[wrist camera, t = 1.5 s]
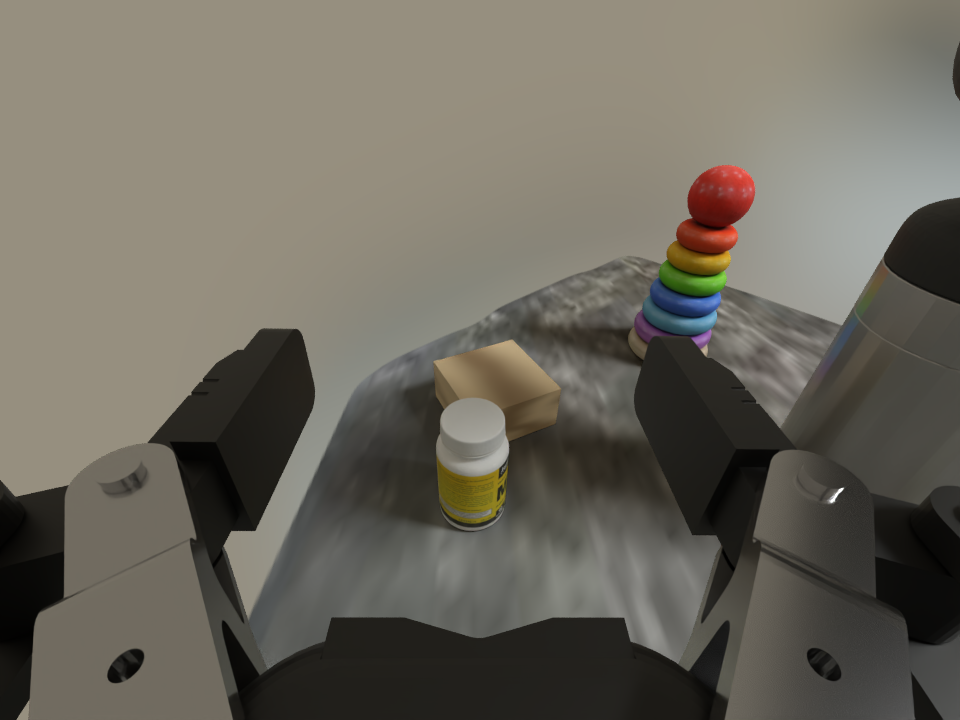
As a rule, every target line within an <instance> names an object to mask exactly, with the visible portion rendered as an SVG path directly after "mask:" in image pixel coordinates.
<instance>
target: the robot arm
mask: <svg viewBox="0 0 960 720" xmlns="http://www.w3.org/2000/svg"><path fill="white" fill-rule="evenodd" d="M953 84H954V89H955V94H956V96H957V97H958V98H959V100H960V43H959V46H958V49H957V52H956V56H955V59H954V68H953ZM314 399H315V387H314V382H313V378H312V373H311V369H310V365H309V360H308V357H307V352H306V348H305V344H304V340H303V336H302V334H301V332H300V331H299V330H298V329H265V328H264V329H261V330H259V332H258V333H257V334H256V335H255V336H254V338H253V339H252V340H251V341H250V343H249V344H248V345H247V346H246V348H245V349H244V350H237V351H235V352H233V353H232V354H231V355H229V356H227V357H226V358H224V359H222V360H221V361H219V362H218V363H216V364H215V365H214V367H213V368H212V369H211V370H210V371H209V372H208V374H207V375H206V376H205V377H204V378H203V382H200V383H199V384H198V385H197V386H196V387H195V388H194V390H193V391H192V395H190V396H188V397H187V398H186V399H185V400H184V401H183V402H182V404H181V405H180V406H179V407H178V408H177V409H176V411H175V412H174V413H173V414H172V415H171V416H170V417H169V418H168V420H167V421H166V422H165V423H164V424H163V425H162V427H161V428H160V429H159V430H158V431H157V432H156V434H155V435H154V436H153V437H152V438H151V439H150V440H149V442H148V443H144V444H137V445H132V446H128V447H125V448H121V449H118V450H116V451H114V452H111V453H109V454H107V455H105V456H103V457H101V458H99V459H98V460H96V461H94V462H93V463H91V464H90V465H88V466H87V467H86V468H84V469H83V470H82V471H81V472H80V473H79V474H78V475H77V476H76V477H75V478H74V479H73V480H72V482H71V483H70V485H68V486H64V487H59V488H54V489H49V490H45V491H40V492H36V493H31V494H27V495H22V496H18V497H15V496H14V495H13V494H12V493H11V491H9V489H8V488H7V487H6V486H5V485H4V484H3V483H2V482H1V480H0V720H16V719H17V718H18V716H19V715H20V713H21V711H22V710H23V709H24V707H25V705H26V704H27V702H28V701H29V699H30V704H29V720H960V198H954V199H947V200H943V201H939V202H935V203H932V204H929V205H927V206H924V207H922V208H920V209H918V210H917V211H915V212H914V213H913V214H912V215H911V216H910V217H909V218H908V219H907V220H906V221H905V222H904V223H903V225H902V226H901V227H900V229H899V230H898V232H897V234H896V235H895V237H894V239H893V240H892V242H891V244H890V245H889V247H888V249H887V251H886V252H885V254H884V257H883V258H882V260H881V261H880V263H879V265H878V266H877V268H876V270H875V272H874V273H873V275H872V276H871V278H870V280H869V282H868V283H867V285H866V286H865V288H864V290H863V291H862V293H861V295H860V296H859V298H858V300H857V301H856V303H855V305H854V307H853V309H852V310H851V312H850V314H849V315H848V317H847V318H846V320H845V322H844V324H843V325H842V327H841V328H840V330H839V332H838V333H837V335H836V337H835V338H834V340H833V342H832V343H831V345H830V347H829V348H828V350H827V352H826V353H825V355H824V357H823V358H822V360H821V362H820V363H819V365H818V367H817V368H816V370H815V372H814V373H813V375H812V377H811V378H810V380H809V382H808V383H807V385H806V386H805V388H804V390H803V391H802V393H801V395H800V396H799V398H798V400H797V401H796V403H795V405H794V406H793V408H792V410H791V411H790V413H789V415H788V416H787V418H786V420H785V421H784V423H783V424H782V426H781V428H779V427H778V426H777V425H776V423H775V422H774V421H773V420H772V419H771V417H770V416H769V415H768V414H767V413H766V412H765V410H764V409H763V408H762V407H761V406H760V404H756V400H755V398H754V397H753V396H752V395H751V394H750V393H749V391H745V387H744V385H743V384H742V383H741V382H740V381H739V379H738V378H737V377H736V376H735V375H734V374H733V372H732V371H730V370H729V369H727V368H726V367H724V366H723V365H721V364H720V363H718V362H717V361H715V360H714V359H712V358H707V357H706V356H705V355H704V353H703V352H702V351H701V350H700V348H699V347H698V346H697V345H696V343H695V342H694V341H693V340H692V339H691V338H690V337H688V336H654V337H652V338H651V340H650V342H649V344H648V347H647V350H646V354H645V357H644V361H643V364H642V367H641V371H640V374H639V378H638V381H637V385H636V388H635V394H634V405H635V411H636V414H637V417H638V419H639V421H640V423H641V425H642V428H643V430H644V432H645V434H646V436H647V438H648V441H649V443H650V445H651V447H652V449H653V451H654V453H655V456H656V458H657V460H658V462H659V464H660V466H661V468H662V471H663V473H664V475H665V477H666V479H667V481H668V483H669V486H670V488H671V490H672V492H673V494H674V496H675V499H676V501H677V503H678V505H679V507H680V509H681V511H682V514H683V516H684V518H685V520H686V522H687V524H688V526H689V529H690V531H691V533H692V535H717V537H718V539H719V541H720V543H721V547H720V548H719V550H718V552H717V554H716V556H715V560H714V563H713V566H712V569H711V573H710V576H709V579H708V582H707V586H706V589H705V592H704V595H703V599H702V602H701V605H700V609H699V612H698V615H697V618H696V622H695V625H694V628H693V631H692V634H691V637H690V639H689V642H688V644H687V646H686V649H685V651H684V653H683V655H682V657H681V659H680V662H679V664H677V663H676V662H674V661H672V660H670V659H669V658H667V657H665V656H663V655H661V654H660V653H658V652H656V651H654V650H651V649H649V648H647V647H644V646H642V645H639V644H637V643H633V642H630V638H629V634H628V631H627V627H626V623H625V620H624V618H550V619H547V620H543V621H540V622H537V623H533V624H530V625H527V626H523V627H520V628H516V629H513V630H510V631H506V632H503V633H499V634H496V635H493V636H489V637H485V638H473V637H469V636H465V635H462V634H459V633H455V632H452V631H448V630H445V629H442V628H438V627H435V626H431V625H428V624H424V623H421V622H418V621H414V620H411V619H407V618H331V621H330V625H329V629H328V633H327V637H326V641H325V642H322V643H318V644H315V645H313V646H310V647H308V648H306V649H303V650H301V651H299V652H296V653H295V654H293V655H291V656H289V657H287V658H286V659H284V660H282V661H280V662H278V663H277V664H275V665H274V666H273V667H271V668H270V669H268V670H267V667H266V665H265V662H264V660H263V658H262V655H261V653H260V651H259V649H258V646H257V644H256V641H255V639H254V636H253V633H252V631H251V628H250V624H249V621H248V618H247V615H246V612H245V609H244V606H243V603H242V599H241V596H240V593H239V590H238V587H237V584H236V580H235V577H234V574H233V571H232V568H231V565H230V562H229V558H228V555H227V553H226V551H225V549H224V547H223V545H224V544H225V542H226V540H227V538H228V536H229V534H230V532H231V531H255V530H256V528H257V526H258V524H259V522H260V520H261V518H262V515H263V513H264V511H265V509H266V507H267V505H268V503H269V501H270V498H271V496H272V494H273V492H274V490H275V488H276V486H277V484H278V481H279V479H280V477H281V475H282V473H283V471H284V469H285V467H286V464H287V462H288V460H289V458H290V456H291V454H292V452H293V449H294V447H295V445H296V443H297V441H298V439H299V437H300V435H301V433H302V430H303V428H304V426H305V424H306V422H307V420H308V418H309V416H310V413H311V411H312V409H313V405H314Z"/></svg>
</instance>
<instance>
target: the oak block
mask: <svg viewBox="0 0 960 720" xmlns="http://www.w3.org/2000/svg"><path fill="white" fill-rule="evenodd" d="M434 375H435V391H436V397H437V398H438V400H439V402H440V403H441V405H442V406H443V408H444V409H445V408H446V407H447V406H449V405H450V404H451V403H453V402H455V401H458V400H460V399H465V398H481V399H486V400H488V401H491V402H493V403H494V404H496V405H497V406H498V407H499V408H500V409H501V410H502V412H503V414H504V416H505V431H506V433H505V435H506V437H507V439H508V442H509V441H511V440H514V439H516V438H519V437H522V436H524V435H527V434H530V433H532V432H535V431H538V430H540V429H543V428H546V427H548V426H551V425H554V424H556V418H557V412H558V406H559V399H560V393H561V388H560V387H559V386H558V385H557V384H556V383H555V382H554V381H553V380H552V379H551V378H550V377H549V376H548V375H547V374H546V373H545V372H544V371H543V370H542V369H541V368H540V367H539V366H538V365H537V364H536V363H535V362H534V361H533V360H532V359H531V358H530V357H529V356H528V355H527V354H526V353H525V352H524V351H523V350H522V349H521V348H520V347H519V346H518V345H517V344H516V343H515V342H514V341H513V340H509V341H505V342H502V343H498V344H495V345H491V346H487V347H484V348H480V349H477V350H473V351H470V352H466V353H462V354H459V355H455V356H452V357H448V358H444V359H441V360H437V361H434Z"/></svg>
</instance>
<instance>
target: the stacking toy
mask: <svg viewBox="0 0 960 720" xmlns="http://www.w3.org/2000/svg"><path fill="white" fill-rule="evenodd" d="M754 196H755V186H754V182H753V180H752V178H751V177H750V175H749V174H748V173H747V172H746V171H745V170H743V169H741V168H739V167H736V166H731V165H722V166H717V167H713V168H711V169H709V170H707V171H706V172H704V173H702V174H701V175H700V176H699V177H698V178H697V179H696V181H695V182H694V183H693V185H692V186H691V189H690V191H689V194H688V209H689V212H690V214H691V216H692V217H693V218H692V219H687V220H685V221H684V222H682V223H681V224H680V225H679V227H678V229H677V233H676V236H677V239H678V240H677V241H675V242H673V243H672V244H671V245H670V246H669V248H668V250H667V258H668V260H666V261H665V262H664V263H663V264H662V265H661V267H660V270H659V278H657V279H656V280H655V281H654V282H653V284H652V285H651V288H650V295H649V296H648V297H647V298H646V299H645V301H644V303H643V308H642V310H641V311H640V312H639V313H638V314H637V316H636V318H635V322H634V327H633V328H632V329H631V331H630V333H629V336H628V342H629V345H630V347H631V349H632V350H633V352H634V353H635V354H636V355H637V356H639V357H640V358H641V359H643V360H644V357H645V354H646V350H647V347H648V344H649V342H650V340H651V338H652V337H654V336H688V337H690V338H691V339H692V340H693V341H694V342H695V343H696V345H697V346H698V347H699V348H700V350H701V351H702V352H703V353H704V355H705V356H707V352H708V348H707V343H708V342H709V340H710V338H711V328H712V327H713V326H714V324H715V323H716V320H717V313H716V309H717V308H718V306H719V304H720V301H721V295H720V292H719V291H721V290H722V289H723V287H724V286H725V284H726V280H727V278H726V274H725V272H724V270H725V269H726V268H727V267H728V266H729V264H730V261H731V257H730V254H729V252H728V250H730V249H731V248H732V247H733V246H734V245H735V244H736V242H737V239H738V234H737V231H736V230H735V228H734V227H733V226H731V224H733V223H735V222H736V221H738V220H739V219H741V218H742V217H743V216H744V215H745V214H746V213H747V211H748V210H749V208H750V207H751V205H752V203H753V200H754Z"/></svg>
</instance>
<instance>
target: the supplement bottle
mask: <svg viewBox="0 0 960 720" xmlns="http://www.w3.org/2000/svg"><path fill="white" fill-rule="evenodd" d="M505 433H506V431H505V416H504V414H503V412H502V410H501V409H500V408H499V407H498V406H497V405H496V404H494V403H493V402H491V401H488V400H486V399H481V398H465V399H460V400H458V401H455V402H453V403H451V404H450V405H449V406H447V407H446V408H445V410H444V411H443V413H442V415H441V419H440V435H439V437H438V439H437V443H436V456H437V471H438V487H439V503H440V509H441V512H442V514H443V516H444V517H445V519H446V520H447V521H448V522H449V523H450V524H451V525H453V526H455V527H457V528H459V529H462V530H467V531H477V530H482V529H485V528H487V527H489V526H491V525H493V524H494V523H495V522H496V521H497V520H498V519H499V518H500V516H501V515H502V513H503V510H504V507H505V499H506V485H507V471H508V458H509V443H508V439H507V437H506V435H505Z"/></svg>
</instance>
